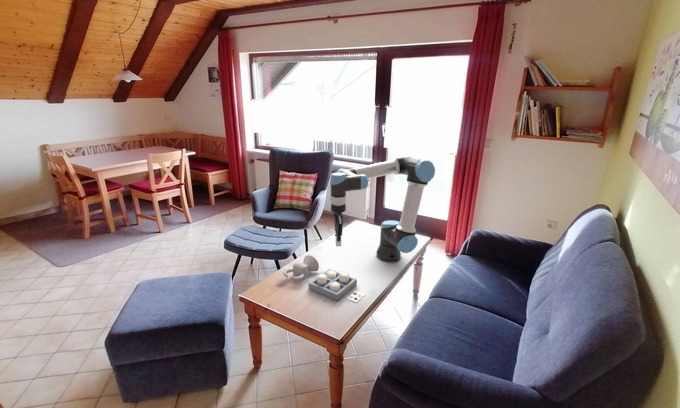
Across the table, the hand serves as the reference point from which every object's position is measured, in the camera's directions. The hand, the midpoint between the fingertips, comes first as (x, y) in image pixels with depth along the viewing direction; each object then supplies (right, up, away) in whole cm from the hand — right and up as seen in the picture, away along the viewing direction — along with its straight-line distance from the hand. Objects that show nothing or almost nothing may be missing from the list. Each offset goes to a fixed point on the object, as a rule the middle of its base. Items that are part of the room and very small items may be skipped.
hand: (338, 245), depth 179 cm
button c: (+3, -19, -1) cm, 19 cm away
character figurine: (-21, -18, +10) cm, 29 cm away
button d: (-4, -19, +4) cm, 20 cm away
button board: (-3, -22, -1) cm, 22 cm away
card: (+9, -25, -9) cm, 27 cm away
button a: (-2, -23, -7) cm, 24 cm away
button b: (-9, -19, -3) cm, 21 cm away
